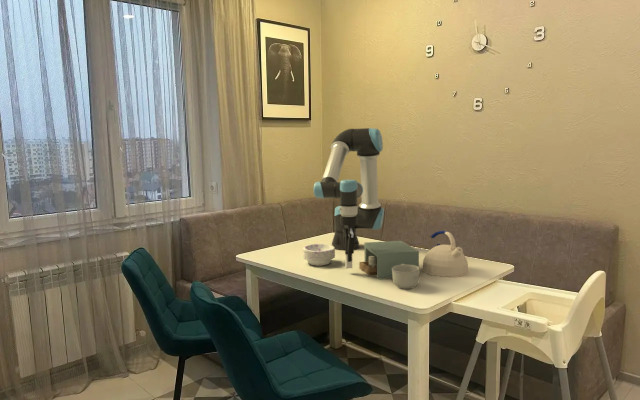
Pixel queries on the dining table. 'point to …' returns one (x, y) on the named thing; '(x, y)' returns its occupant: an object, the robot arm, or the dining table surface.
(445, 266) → the kettle
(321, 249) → the paper bowls
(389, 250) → the sage green box
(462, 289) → the dining table surface
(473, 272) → the dining table surface
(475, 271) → the dining table surface
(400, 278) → the teacup
